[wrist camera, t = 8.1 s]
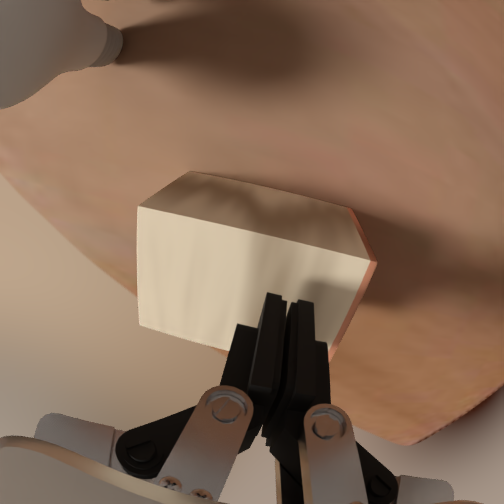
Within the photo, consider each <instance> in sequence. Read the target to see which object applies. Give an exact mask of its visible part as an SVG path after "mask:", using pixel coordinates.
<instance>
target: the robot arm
mask: <svg viewBox="0 0 504 504" xmlns="http://www.w3.org/2000/svg"><path fill="white" fill-rule="evenodd" d="M286 312H287V301H286V300H282V295H278V294H274V293H269V292H267V293H266V297H265V301H264V304H263V308H262V312H261V315H260V319H259V323H258V326H257V328H255V327H251V326H246V325H242V324H238V323H237V325H236V329H235V332H234V336H233V340H232V343H231V347H230V350H229V354H228V357H227V361H226V365H225V368H224V372H223V375H222V379H221V382H220V386H216V387H213V388H211V389H209V390H207V391H206V392H205V393H204V394H203V396H202V397H201V399H200V401H199V403H198V404H197V405H196V406H194V407H191V408H188V409H186V410H183V411H181V412H178V413H176V414H173V415H171V416H168V417H165V418H163V419H160V420H157V421H154V422H151V423H148V424H145V425H143V426H140V427H137V428H134V429H131V430H129V431H122V430H116V429H115V428H114V427H112V426H107V425H103V424H98V423H94V422H89V421H85V420H81V419H77V418H73V417H69V416H66V415H62V414H57V413H50V414H47V415H45V416H44V417H43V418H41V419H40V421H39V423H38V425H37V428H36V431H35V435H34V438H31V437H25V436H4V437H1V438H0V504H227V503H221V502H217V501H218V499H219V497H220V494H221V492H222V490H223V488H224V485H225V482H226V480H227V478H228V476H229V473H230V471H231V468H232V466H233V464H234V461H235V459H236V456H237V454H239V453H241V452H243V451H245V450H247V449H249V448H250V446H251V444H252V442H253V440H254V438H255V436H257V435H258V433H259V431H260V429H261V427H262V425H263V427H262V434H261V436H262V437H265V438H267V439H266V446H270V453H272V455H273V456H274V457H275V477H276V496H277V497H276V498H277V504H482V503H479V502H475V501H468V500H457V501H454V491H453V488H452V486H451V485H450V484H449V483H448V482H447V481H443V480H436V479H427V478H420V477H419V478H418V477H412V476H406V475H400V476H398V477H397V476H394V475H393V474H392V472H390V471H389V470H388V469H387V468H386V467H385V466H383V465H382V464H381V463H380V462H379V461H378V460H377V459H375V458H374V457H373V456H372V455H371V454H370V453H369V452H367V450H366V449H364V448H363V447H362V446H361V445H360V444H359V443H358V442H357V441H355V437H354V432H353V428H352V423H351V421H350V418H349V416H348V415H347V414H346V413H345V411H343V410H342V409H340V408H339V407H337V406H334V405H332V404H331V396H330V374H329V357H328V345H327V343H326V342H322V341H317V340H315V316H314V303H313V302H310V301H305V300H300V299H298V300H297V303H295V302H291V304H290V307H289V310H288V313H287V316H286Z"/></svg>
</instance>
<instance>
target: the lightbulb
mask: <svg viewBox="0 0 504 504" xmlns="http://www.w3.org/2000/svg"><path fill="white" fill-rule="evenodd" d="M122 45H123V36H122V33H121V32H120V31H119V30H118V29H117V28H115V27H113V26H110V25H109V24H106V23H104V21H103V20H102V19H101V18H100V17H98V16H95V15H93V14H91V13H89V12H88V11H86V10H85V9H84V7H83V6H82V3H81V0H0V109H4V108H8V107H11V106H14V105H16V104H18V103H20V102H22V101H24V100H26V99H27V98H29V97H31V96H32V95H34V94H35V93H36V92H38V91H39V90H40V89H41V88H43V87H44V86H45V85H47V84H48V83H49V82H50V81H51V80H53V79H54V78H55V77H56V76H58V75H60V74H61V73H65V72H68V71H78V70H82V69H85V68H87V67H102V66H106V65H108V64H110V63H111V62H113V61H114V60H115V59H116V58H117V56H118V55H119V53H120V51H121V49H122Z"/></svg>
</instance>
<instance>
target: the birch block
mask: <svg viewBox="0 0 504 504" xmlns="http://www.w3.org/2000/svg"><path fill="white" fill-rule="evenodd" d="M377 263H378V262H377V260H376V257H375V255H374V253H373V251H372V249H371V247H370V245H369V243H368V240H367V238H366V236H365V234H364V232H363V230H362V228H361V226H360V224H359V222H358V220H357V218H356V216H355V214H354V212H353V210H352V209H351V208H347V207H344V206H340V205H336V204H333V203H329V202H325V201H321V200H318V199H314V198H310V197H306V196H302V195H298V194H294V193H290V192H286V191H281V190H277V189H273V188H269V187H264V186H260V185H255V184H251V183H246V182H242V181H237V180H232V179H227V178H223V177H218V176H213V175H207V174H202V173H197V172H192V171H189V172H187V173H186V174H184V175H182V176H181V177H179V178H178V179H176V180H175V181H173V182H172V183H170V184H169V185H167V186H166V187H164V188H163V189H161V190H160V191H158V192H157V193H156V194H154V195H153V196H151V197H150V198H148V199H147V200H146V201H144V202H143V203H141V204H140V205H138V213H137V288H138V310H139V325H141V326H144V327H147V328H150V329H153V330H157V331H160V332H163V333H166V334H170V335H173V336H176V337H180V338H183V339H186V340H190V341H193V342H197V343H201V344H204V345H208V346H212V347H216V348H220V349H223V350H227V351H229V350H230V347H231V343H232V340H233V336H234V332H235V329H236V325H237V323H238V324H242V325H246V326H251V327H255V328H257V326H258V323H259V319H260V315H261V312H262V308H263V304H264V301H265V297H266V293H267V292H269V293H274V294H278V295H282V300H286V301H287V312H286V316H287V313H288V310H289V307H290V304H291V302H295V303H297V300H298V299H300V300H305V301H310V302H313V303H314V316H315V340H317V341H322V342H326V343H327V345H328V357H329V362H330V360H331V358H332V356H333V355H334V353H335V351H336V349H337V347H338V345H339V343H340V342H341V340H342V338H343V336H344V334H345V332H346V330H347V328H348V326H349V324H350V322H351V320H352V318H353V316H354V314H355V312H356V310H357V308H358V305H359V303H360V301H361V299H362V297H363V295H364V293H365V290H366V288H367V286H368V284H369V282H370V279H371V277H372V275H373V273H374V270H375V268H376V266H377Z"/></svg>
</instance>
